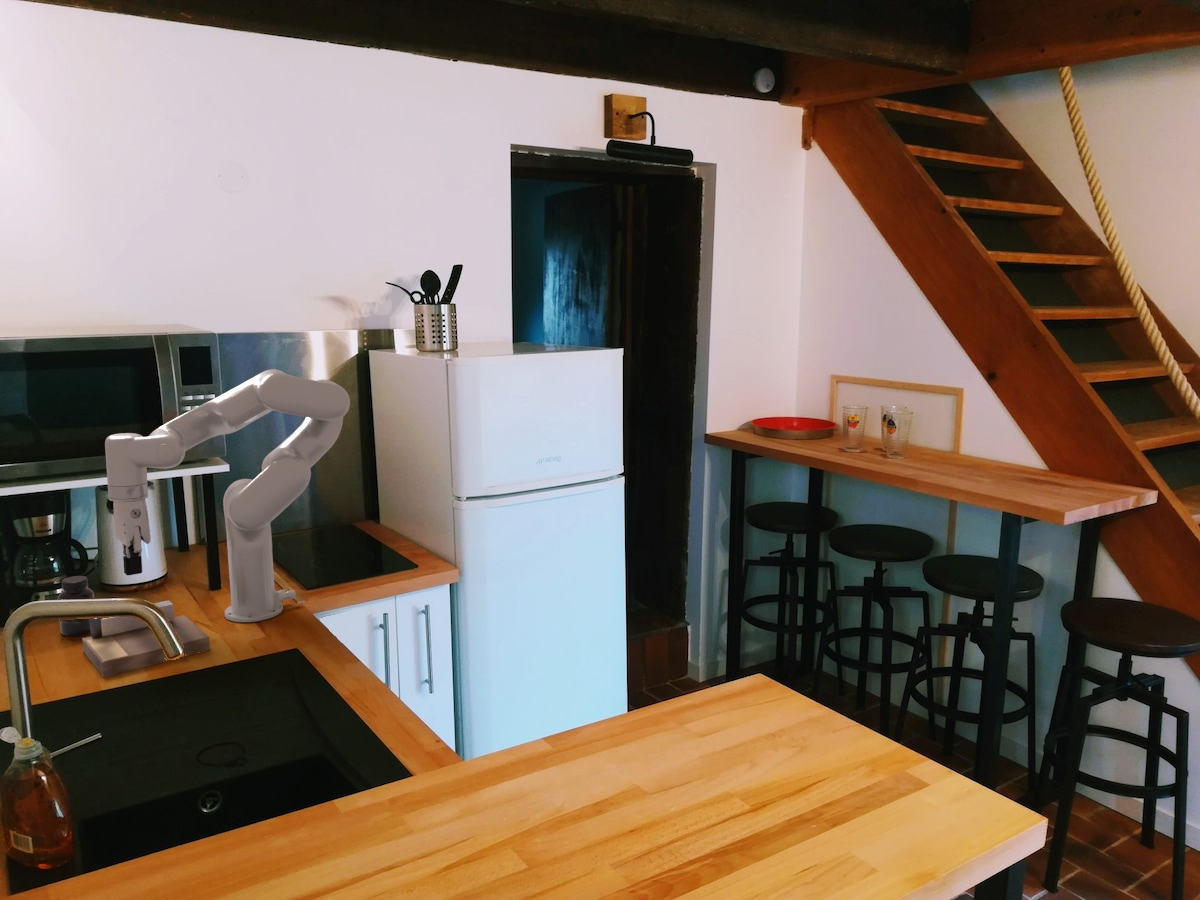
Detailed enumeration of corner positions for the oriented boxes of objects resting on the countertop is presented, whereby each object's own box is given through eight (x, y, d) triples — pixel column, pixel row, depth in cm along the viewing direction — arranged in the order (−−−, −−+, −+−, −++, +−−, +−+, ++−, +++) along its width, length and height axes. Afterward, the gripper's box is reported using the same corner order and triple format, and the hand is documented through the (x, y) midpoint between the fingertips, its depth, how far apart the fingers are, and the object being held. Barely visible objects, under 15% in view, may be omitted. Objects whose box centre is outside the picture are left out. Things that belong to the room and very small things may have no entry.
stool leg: (93, 639, 180) (91, 621, 180) (89, 635, 183) (87, 616, 182) (174, 620, 191) (173, 603, 190) (169, 616, 193) (168, 599, 192)
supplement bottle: (64, 640, 189) (58, 586, 187) (58, 630, 194) (52, 578, 192) (100, 632, 193) (94, 580, 191) (93, 623, 198) (88, 572, 196)
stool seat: (185, 627, 196) (183, 614, 196) (210, 650, 184) (208, 635, 184) (83, 652, 183) (82, 637, 182) (103, 677, 171) (102, 662, 171)
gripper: (157, 495, 186) (162, 579, 189) (137, 483, 197) (142, 562, 200) (118, 500, 181) (123, 585, 184) (99, 487, 192) (105, 568, 195)
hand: (133, 573), depth 192 cm, fingers closed
